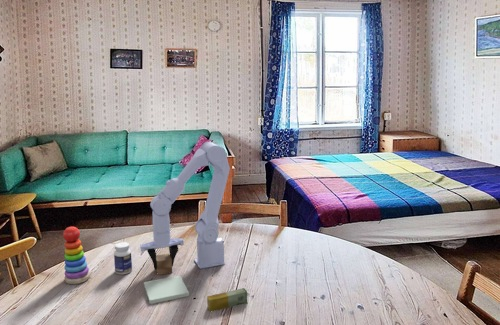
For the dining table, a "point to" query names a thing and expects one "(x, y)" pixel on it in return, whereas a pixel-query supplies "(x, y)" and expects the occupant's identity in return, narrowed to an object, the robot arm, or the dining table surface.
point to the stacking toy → (74, 258)
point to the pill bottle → (122, 258)
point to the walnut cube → (163, 264)
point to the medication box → (227, 299)
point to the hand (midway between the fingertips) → (163, 266)
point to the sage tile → (165, 289)
